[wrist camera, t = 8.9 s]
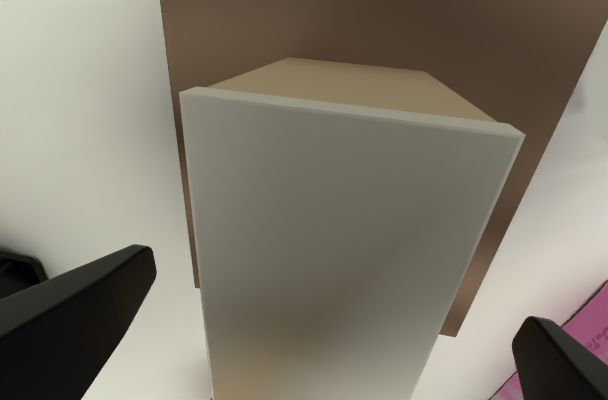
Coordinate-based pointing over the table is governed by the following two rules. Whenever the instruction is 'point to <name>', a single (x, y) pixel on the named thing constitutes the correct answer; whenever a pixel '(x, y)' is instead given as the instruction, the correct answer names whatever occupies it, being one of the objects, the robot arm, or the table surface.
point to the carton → (334, 223)
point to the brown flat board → (404, 55)
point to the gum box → (585, 329)
